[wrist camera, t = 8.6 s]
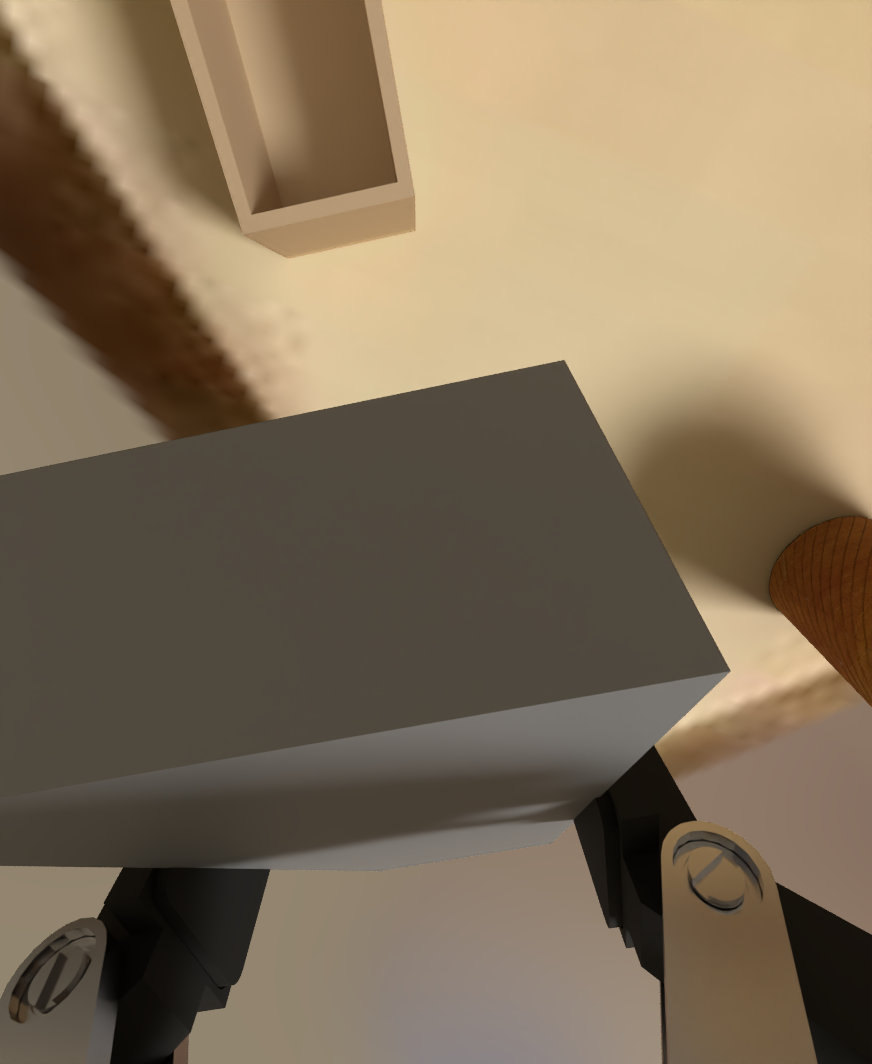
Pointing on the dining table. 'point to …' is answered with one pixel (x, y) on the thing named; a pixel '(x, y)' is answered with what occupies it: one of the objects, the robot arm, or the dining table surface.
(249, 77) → the tan open box
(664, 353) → the dining table surface
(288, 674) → the gray rectangular block
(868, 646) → the disposable coffee cup
